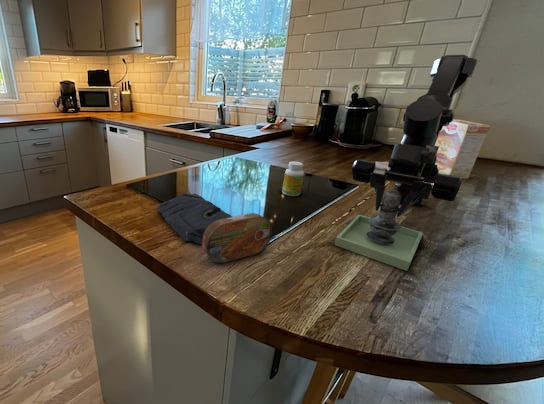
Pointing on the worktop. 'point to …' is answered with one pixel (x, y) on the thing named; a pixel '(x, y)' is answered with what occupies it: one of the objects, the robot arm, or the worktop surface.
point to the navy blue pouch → (190, 215)
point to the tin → (236, 237)
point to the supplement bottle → (293, 179)
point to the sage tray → (390, 254)
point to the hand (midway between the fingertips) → (386, 212)
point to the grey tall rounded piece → (386, 219)
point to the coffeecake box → (459, 147)
